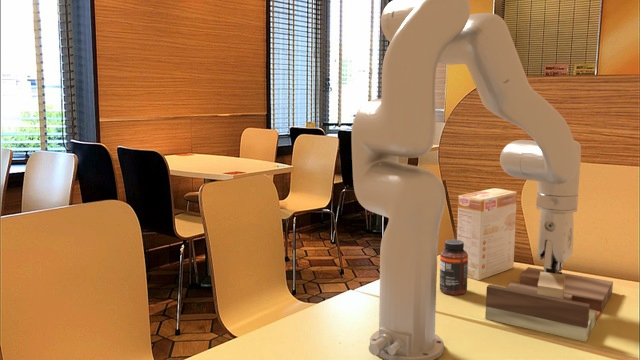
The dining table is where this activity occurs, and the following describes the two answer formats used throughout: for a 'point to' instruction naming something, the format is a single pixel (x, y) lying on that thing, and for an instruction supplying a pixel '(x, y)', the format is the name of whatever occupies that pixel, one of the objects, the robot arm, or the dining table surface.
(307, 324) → the dining table surface
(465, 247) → the coffeecake box
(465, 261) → the supplement bottle
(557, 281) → the maple block
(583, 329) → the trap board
